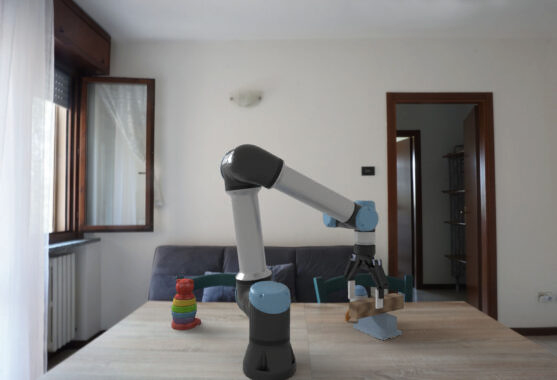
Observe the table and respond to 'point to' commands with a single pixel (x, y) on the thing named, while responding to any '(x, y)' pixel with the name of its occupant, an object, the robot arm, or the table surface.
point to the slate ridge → (379, 326)
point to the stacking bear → (184, 306)
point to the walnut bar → (368, 306)
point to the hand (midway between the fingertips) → (364, 303)
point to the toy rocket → (357, 298)
